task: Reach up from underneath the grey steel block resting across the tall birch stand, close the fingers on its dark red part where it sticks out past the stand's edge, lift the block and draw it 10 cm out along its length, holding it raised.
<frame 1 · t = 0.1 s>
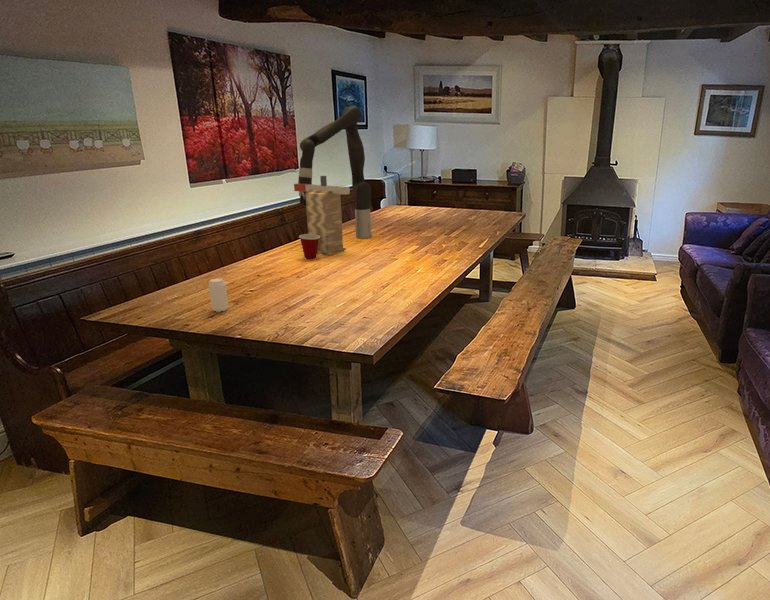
hand: (303, 205, 306), 22 cm above the table, tool pointing down, fingers open, 8 cm apart
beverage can: (220, 310, 204), on the table
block: (321, 192, 283), point 32 cm above the table, touching stand
stand: (326, 251, 292), on the table
plastic cup: (311, 258, 279), on the table
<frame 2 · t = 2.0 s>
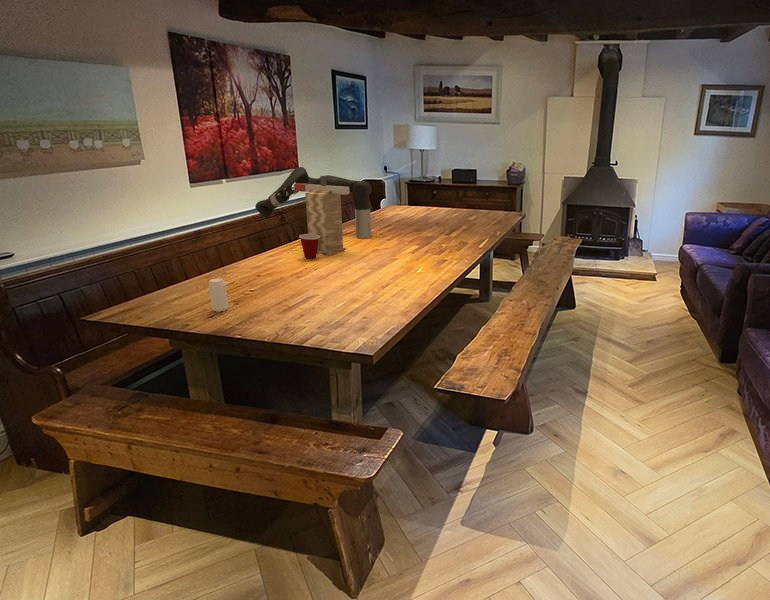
hand: (296, 186, 301), 33 cm above the table, tool pointing upward, fingers open, 8 cm apart
nothing on the table moved.
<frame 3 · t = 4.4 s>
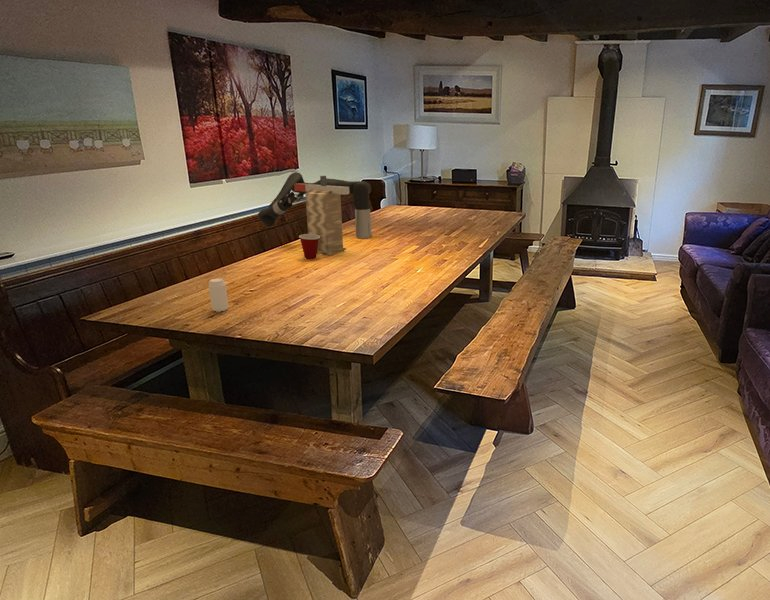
hand: (299, 192, 292), 31 cm above the table, tool pointing upward, fingers open, 8 cm apart
nothing on the table moved.
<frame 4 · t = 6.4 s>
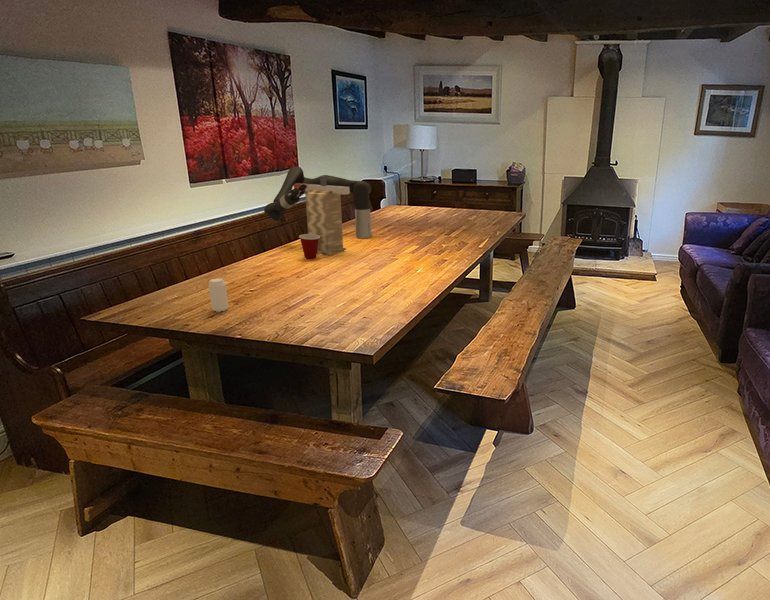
hand: (307, 185, 287), 35 cm above the table, tool pointing upward, fingers closed on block, 4 cm apart
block: (321, 192, 283), point 32 cm above the table, touching gripper, stand
everything else where it was.
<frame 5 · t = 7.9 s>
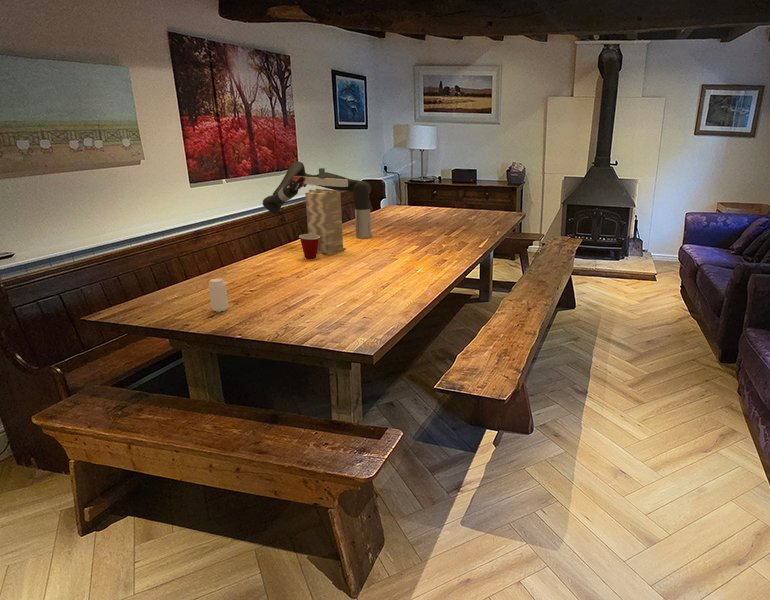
hand: (306, 177, 286), 39 cm above the table, tool pointing upward, fingers closed on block, 4 cm apart
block: (319, 184, 282), point 36 cm above the table, touching gripper
everything else where it was.
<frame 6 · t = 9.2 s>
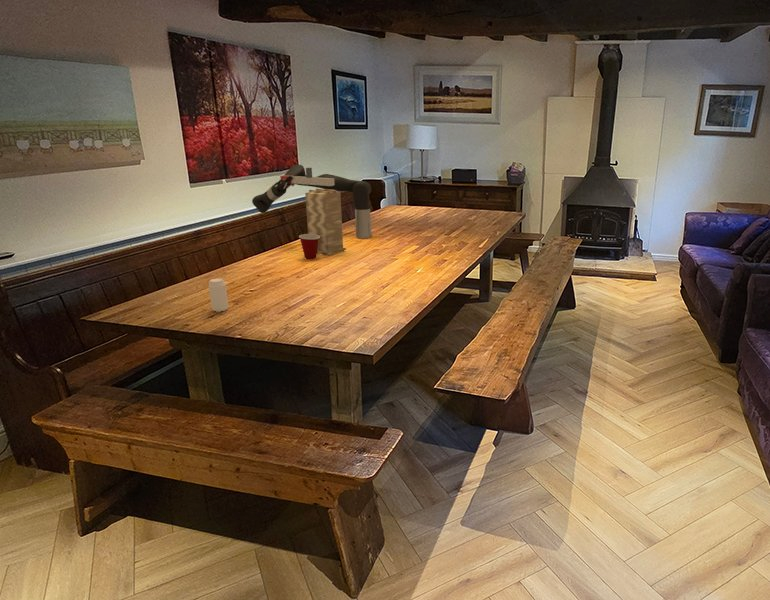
hand: (294, 177, 291), 39 cm above the table, tool pointing upward, fingers closed on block, 4 cm apart
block: (307, 183, 287), point 36 cm above the table, touching gripper
everything else where it was.
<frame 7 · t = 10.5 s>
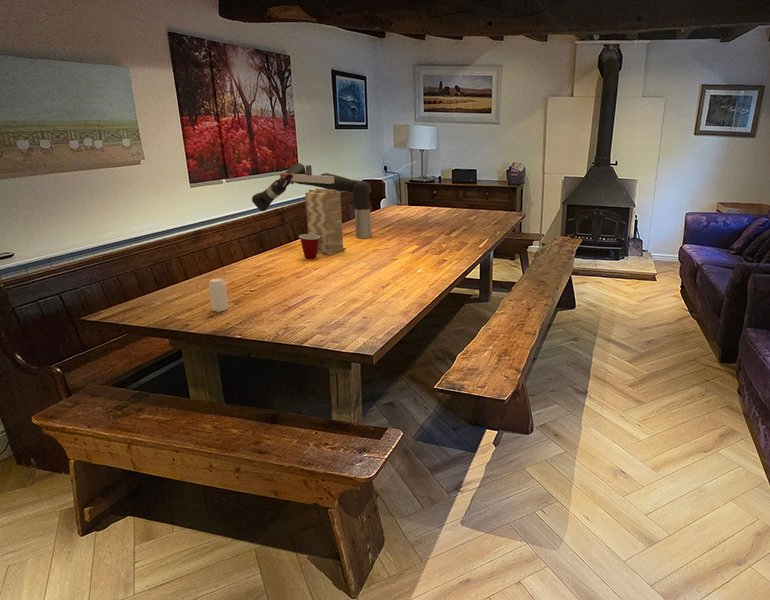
hand: (293, 174, 291), 40 cm above the table, tool pointing upward, fingers closed on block, 4 cm apart
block: (306, 181, 287), point 37 cm above the table, touching gripper
everything else where it was.
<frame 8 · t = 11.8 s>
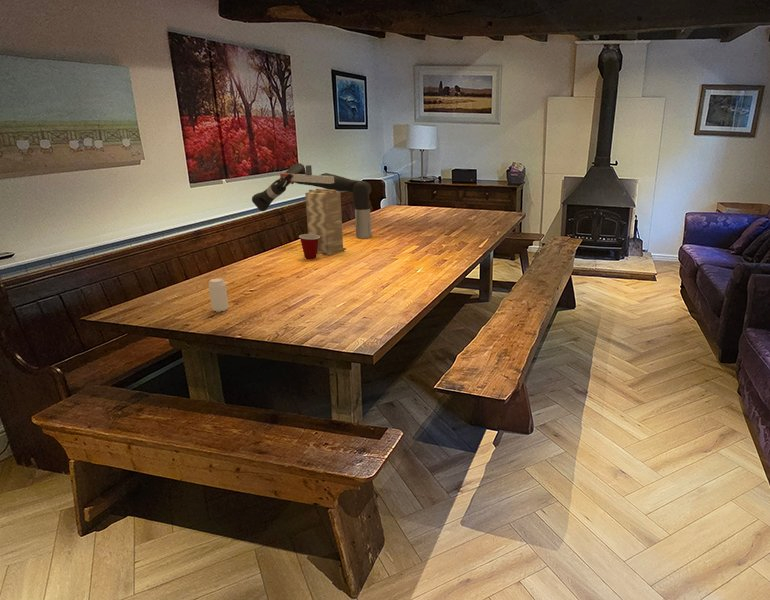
hand: (293, 174, 291), 40 cm above the table, tool pointing upward, fingers closed on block, 4 cm apart
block: (306, 181, 287), point 37 cm above the table, touching gripper
everything else where it was.
at the end: the gripper is holding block; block moved 11.3 cm from its start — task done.
